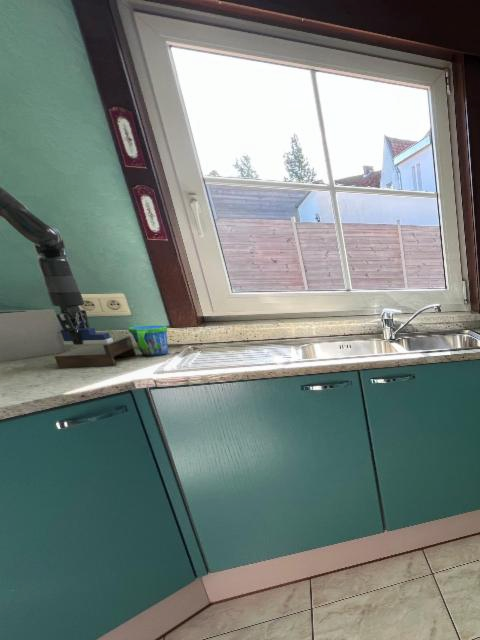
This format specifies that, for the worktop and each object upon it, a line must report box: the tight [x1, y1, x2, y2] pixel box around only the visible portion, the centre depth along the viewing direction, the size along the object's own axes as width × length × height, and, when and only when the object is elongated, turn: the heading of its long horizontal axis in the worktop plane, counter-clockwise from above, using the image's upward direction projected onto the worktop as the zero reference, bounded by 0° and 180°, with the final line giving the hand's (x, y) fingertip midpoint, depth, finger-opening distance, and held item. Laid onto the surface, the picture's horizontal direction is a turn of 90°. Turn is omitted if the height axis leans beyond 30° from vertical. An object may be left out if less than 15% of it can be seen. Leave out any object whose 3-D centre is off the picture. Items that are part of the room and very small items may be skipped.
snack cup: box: [128, 324, 169, 357], centre depth 183 cm, size 16×10×10 cm
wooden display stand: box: [54, 335, 137, 369], centre depth 170 cm, size 14×20×7 cm
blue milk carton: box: [59, 327, 114, 346], centre depth 165 cm, size 11×5×5 cm, turn 115°
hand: (82, 342), depth 165 cm, fingers closed on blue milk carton, 4 cm apart
